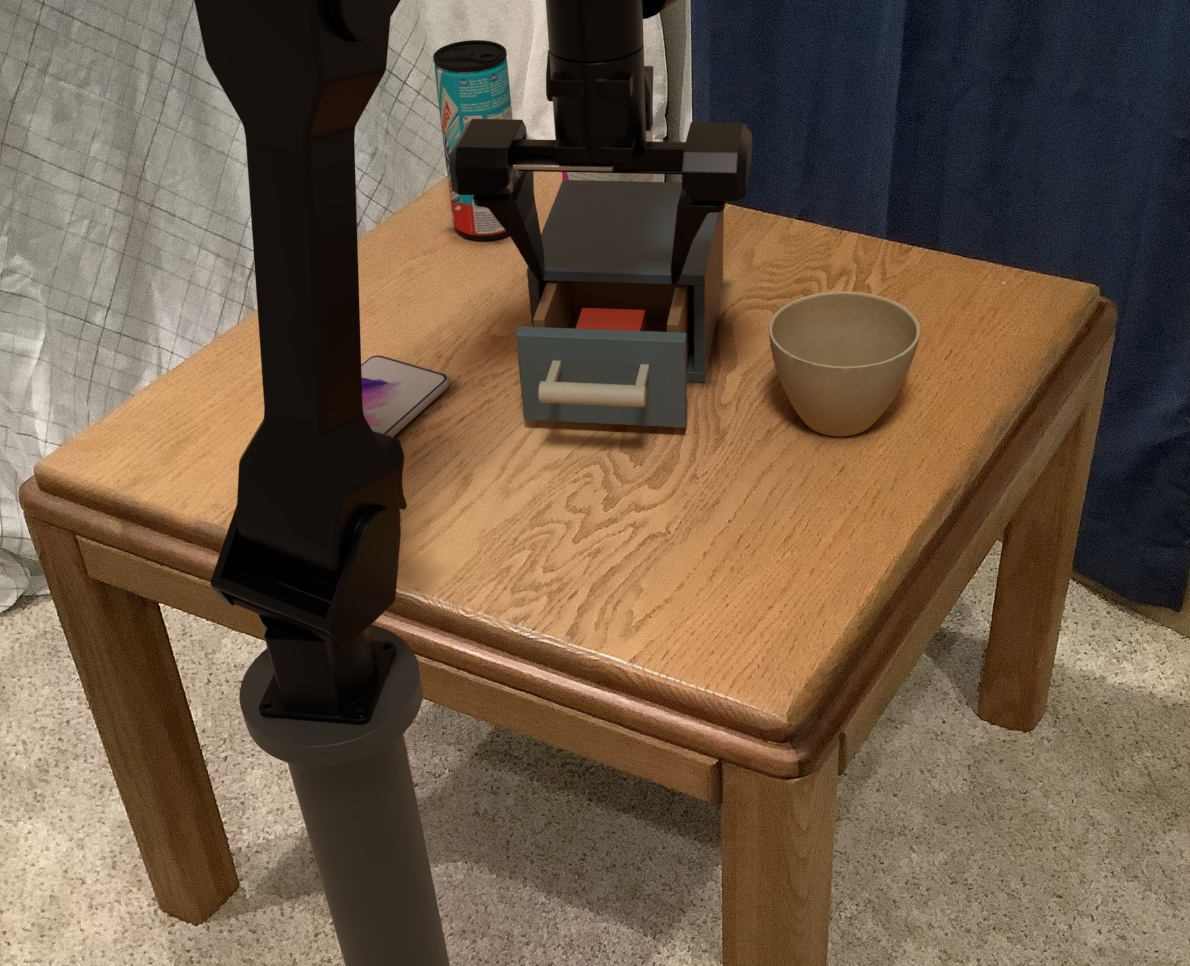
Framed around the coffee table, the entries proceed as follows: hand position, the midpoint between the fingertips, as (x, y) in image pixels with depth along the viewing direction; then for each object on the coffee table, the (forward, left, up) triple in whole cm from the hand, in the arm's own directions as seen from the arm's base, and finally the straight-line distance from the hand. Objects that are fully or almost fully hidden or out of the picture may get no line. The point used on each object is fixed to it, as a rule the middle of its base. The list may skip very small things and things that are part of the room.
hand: (607, 280), depth 96 cm
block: (0, 0, -8) cm, 8 cm away
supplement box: (+26, +4, -10) cm, 28 cm away
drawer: (+1, 0, -9) cm, 9 cm away
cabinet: (+11, 0, -10) cm, 14 cm away
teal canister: (+27, +15, -10) cm, 32 cm away
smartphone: (-4, +18, -10) cm, 21 cm away
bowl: (0, -16, -10) cm, 19 cm away
